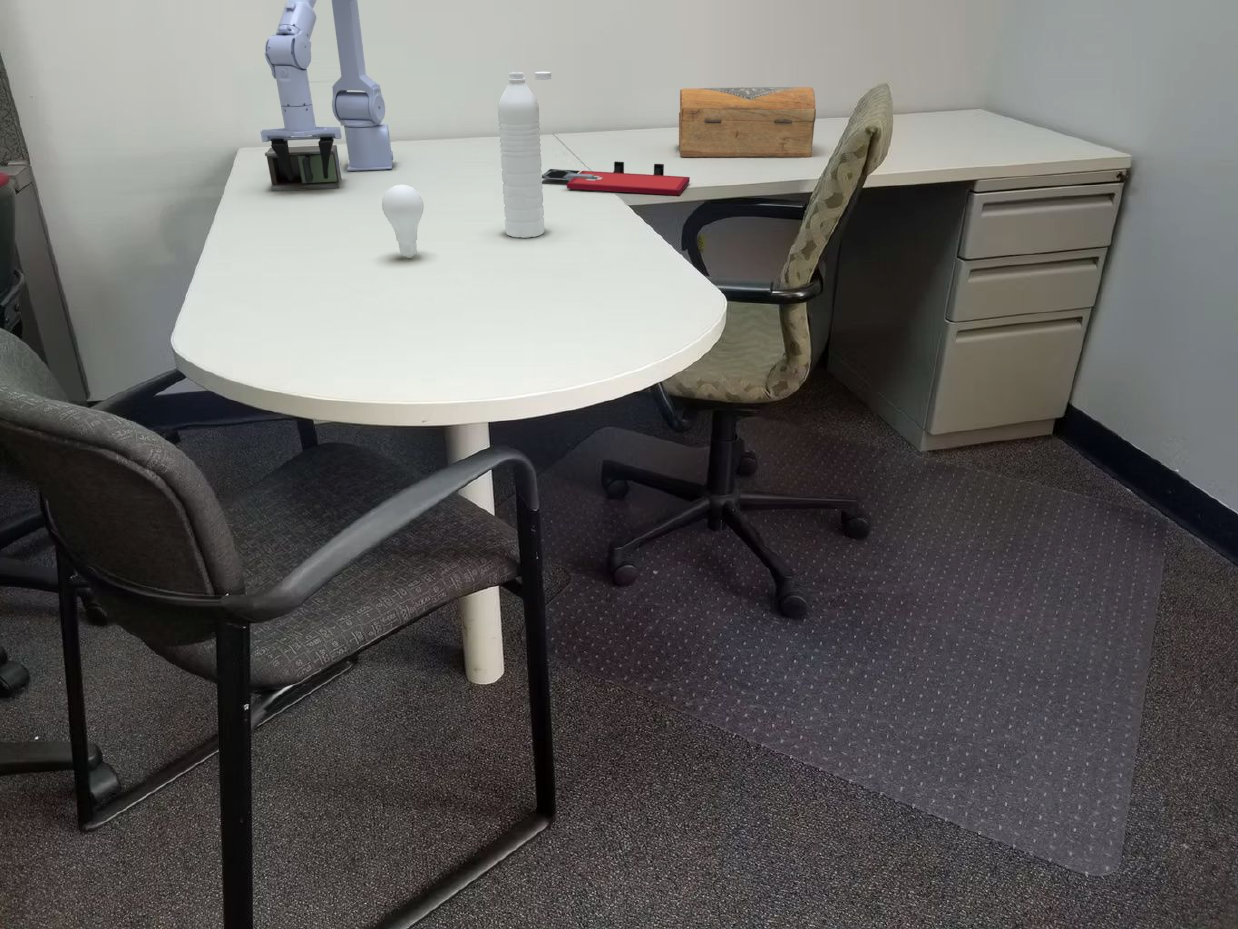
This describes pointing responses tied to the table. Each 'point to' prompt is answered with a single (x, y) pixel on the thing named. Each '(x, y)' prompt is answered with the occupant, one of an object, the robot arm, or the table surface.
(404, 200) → the lightbulb
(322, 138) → the robot arm
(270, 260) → the table surface
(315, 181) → the closet door
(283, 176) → the cabinet
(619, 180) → the red board with handle
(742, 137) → the wooden box
